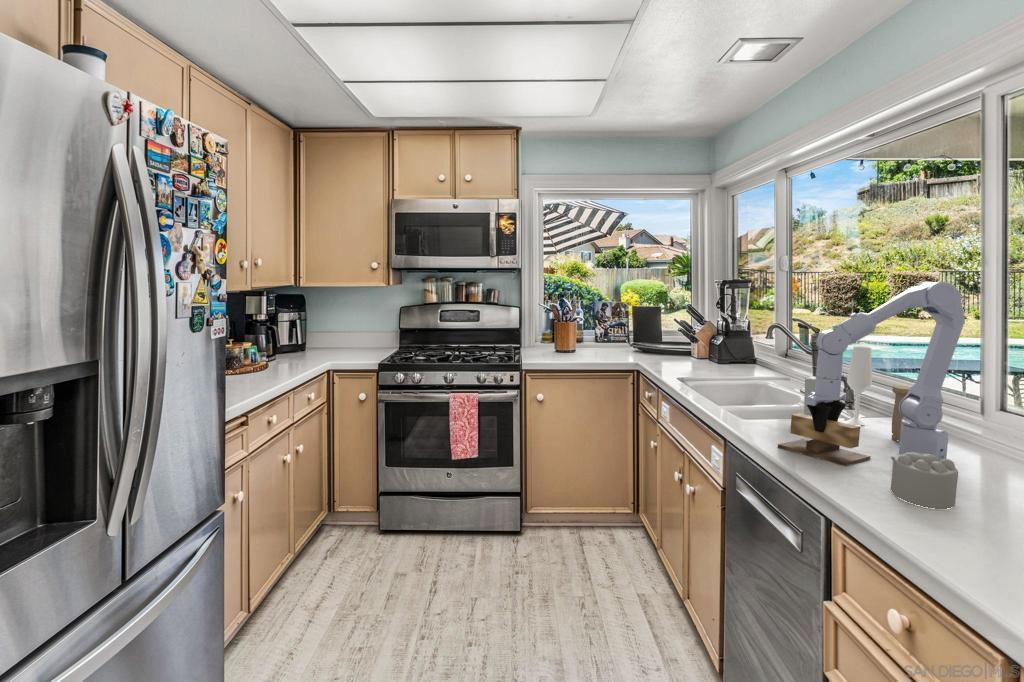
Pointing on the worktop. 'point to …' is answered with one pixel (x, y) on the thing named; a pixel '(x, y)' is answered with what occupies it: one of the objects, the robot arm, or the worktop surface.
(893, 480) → the lumpy-topped squat cylinder
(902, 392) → the handle
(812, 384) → the skincare box
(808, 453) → the walnut board
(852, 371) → the champagne flute
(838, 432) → the oak bar
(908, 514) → the worktop surface
